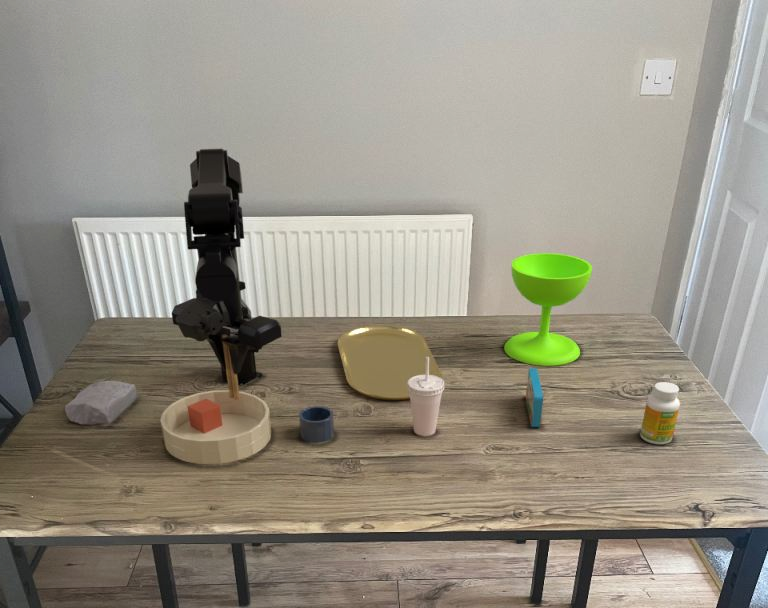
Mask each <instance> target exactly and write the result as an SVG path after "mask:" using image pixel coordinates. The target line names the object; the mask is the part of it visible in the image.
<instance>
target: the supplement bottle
mask: <svg viewBox="0 0 768 608" xmlns="http://www.w3.org/2000/svg"><path fill="white" fill-rule="evenodd" d="M679 391H680V387H679V386H678V385H676V384H675V383H672V382H668V381H660V382H656V383H655V384H654V386H653V390H652V394H651V395H649V397H648V398H647V400H646V403H645V409H644V414H643V419H642V423H641V429H640V434H639V435H640V437H641V439H642V440H644V441H645V442H647V443H649V444H652V445H666V444H668V443H670V442H672V440H673V437H674V434H675V428H676V425H677V421H678V416H679V411H680V407H681V402H680V399H678V395H679Z"/></svg>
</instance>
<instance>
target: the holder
mask: <svg viewBox="0 0 768 608" xmlns="http://www.w3.org/2000/svg"><path fill="white" fill-rule="evenodd" d="M298 418H299V432H300V438H301V439H302V440H303V441H305V442H308V443H315V444H318V443H324V442H327V441H329V440H332V438H333V437H334V436H335V425H334V411H333V410H332V409H330V408H328V407H325V406H320V405H319V406H317V405H316V406H315V405H314V406H308V407H306V408H303V409H302V410H301V411H300V412H299V414H298Z"/></svg>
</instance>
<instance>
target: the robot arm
mask: <svg viewBox="0 0 768 608" xmlns="http://www.w3.org/2000/svg"><path fill="white" fill-rule="evenodd" d="M195 156H196V157H195V159H194V160H193V161H192V162H191V163H190V164H189V171H190V182H191V188H190V189H189V190H188V195H187V201H184V202H183V210H184V212H183V213H184V221H185V223H184V224H185V235H186V246H187V251H188V250H196V252H197V258H198V260H197V265H196V272H195V279H194V280H195V281H194V282H195V285H196V290H195V297H193V298H190V299H188V300H185V301H184V302H181V303H179V304H176V305H174V306H173V308H172V311H171V319H172V324H173V325H176V326H178V328H179V330H180V332H181V334H182V337H184V338H189V339H194V340H195V341H197V342H204V341H207V342H208V344H209V346H210V347H211V348H212V351H213V353H214V356H215V357H216V358H217V360H218V362H219V364H220V369H221V375H220V376H218V377H217V379H218V380H221V381H223V382H225V383H228V381H227V374H226V366H225V358H224V350H223V343H222V342H224V343H225V344H226V345H227V346H228V347H229V352H230V358H231V364H232V369H233V372H234V374H237V379H238V386H241V387H242V386H245V385H246V384H248V383H250V382H251V381H254V380H255V379H257V378H258V379H260V378H262V377H263V373H262V372H260V371H257V365H256V357H255V353H257V354H258V353H259V352H260V350H262V349H263V347H265V346H266V345H269V344H270V343H272V342H274V341H276V340H278V339H280V338H282V326H281V322H279V321H278V320H277V319H274V318H270V317H266V316H263V315H258V316H256V317H253V316H252V311H251V308H249V306H248V305H247V303H246V302H245V301H244V299H243V298H242V291H244V290H246V288H247V287H246V282H245V281H241V280H240V270H239V261H238V252H237V251H238V250H237V248H241V245H242V242H241V240H244V239H245V230H244V229H245V228H244V218H243V208H242V206H241V205H240V201H241V197H240V194H243V193H244V190H243V180H242V179H243V178H242V171H241V165H240V162H238V161H237V160H235V159H234V158H232V157H230V156H229V153H228V149H223V148H201V149H199V150H196V152H195ZM193 235H194V236H193ZM222 335H227V338H225V339H223V340H222V341H221V340H220V338H221V337H222ZM228 336H229V337H228Z"/></svg>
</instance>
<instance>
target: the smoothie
mask: <svg viewBox="0 0 768 608" xmlns="http://www.w3.org/2000/svg"><path fill="white" fill-rule="evenodd" d="M407 389H408V390H409V392H410V399H409V400H410V409H411V417H412V425H413V432H414V433H415V434H416V435H418V436H421V437H422V436H423V437H428V436H432V435H434V434H435V433H436V430H437V424H438V417H439V412H440V407H441V401H442V396H443V392H444V390H445V381H444V379H442V378H439V377H437V376H433V375H429V357H426V373H425V375H417V376H414V377H412V378H410V379H409V380H408V386H407Z"/></svg>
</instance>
